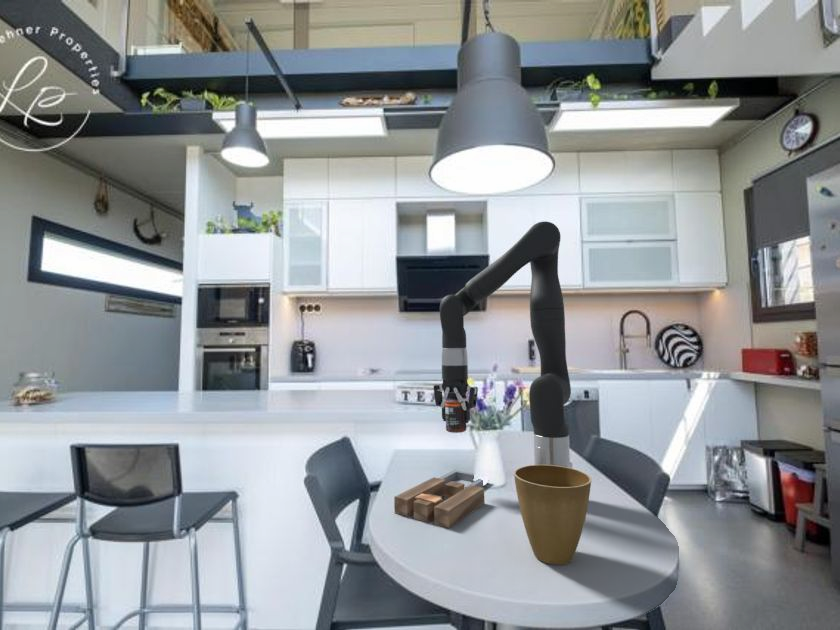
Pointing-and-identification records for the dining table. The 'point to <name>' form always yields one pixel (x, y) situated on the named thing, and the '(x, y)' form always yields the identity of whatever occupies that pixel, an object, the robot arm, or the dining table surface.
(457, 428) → the supplement bottle
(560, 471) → the plant pot
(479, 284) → the robot arm
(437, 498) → the socket board
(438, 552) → the dining table surface
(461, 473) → the cradle
